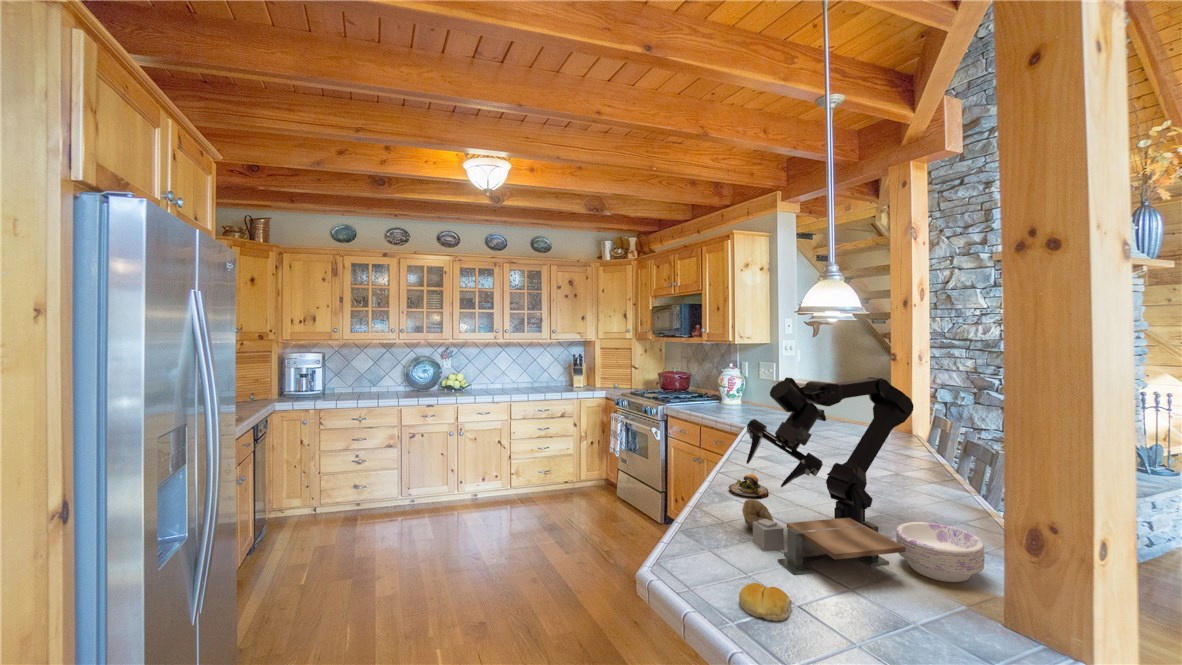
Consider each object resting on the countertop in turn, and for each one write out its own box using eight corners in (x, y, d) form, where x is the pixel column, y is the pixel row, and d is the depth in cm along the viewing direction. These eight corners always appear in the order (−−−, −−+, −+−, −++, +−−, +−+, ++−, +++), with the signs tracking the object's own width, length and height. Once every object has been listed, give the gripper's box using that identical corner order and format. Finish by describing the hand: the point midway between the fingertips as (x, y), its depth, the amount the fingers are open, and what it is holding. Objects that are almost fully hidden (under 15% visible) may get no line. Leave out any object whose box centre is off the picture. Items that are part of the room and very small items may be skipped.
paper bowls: (883, 568, 107) (883, 531, 107) (913, 550, 116) (913, 515, 116) (968, 599, 95) (969, 557, 95) (995, 575, 104) (995, 537, 104)
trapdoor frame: (861, 548, 117) (861, 514, 117) (889, 564, 109) (889, 528, 109) (771, 557, 113) (771, 522, 112) (793, 575, 104) (794, 537, 104)
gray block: (771, 540, 122) (771, 517, 122) (783, 549, 117) (783, 525, 117) (752, 542, 121) (752, 519, 121) (764, 551, 116) (764, 527, 116)
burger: (721, 490, 161) (721, 466, 161) (753, 486, 164) (753, 463, 164) (743, 502, 149) (743, 477, 149) (777, 498, 153) (777, 473, 153)
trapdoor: (849, 540, 116) (849, 517, 116) (905, 573, 100) (905, 546, 100) (786, 547, 113) (786, 522, 113) (834, 582, 97) (834, 553, 97)
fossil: (740, 510, 126) (751, 491, 134) (729, 520, 128) (741, 500, 136) (769, 538, 123) (778, 517, 131) (757, 547, 125) (768, 526, 133)
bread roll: (745, 592, 98) (745, 572, 98) (794, 606, 93) (794, 584, 93) (732, 612, 91) (732, 590, 91) (784, 628, 86) (784, 605, 86)
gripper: (765, 392, 122) (728, 443, 119) (840, 436, 113) (802, 492, 110) (764, 407, 132) (730, 455, 129) (833, 449, 123) (799, 501, 119)
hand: (763, 474), depth 121 cm, fingers open, 9 cm apart
